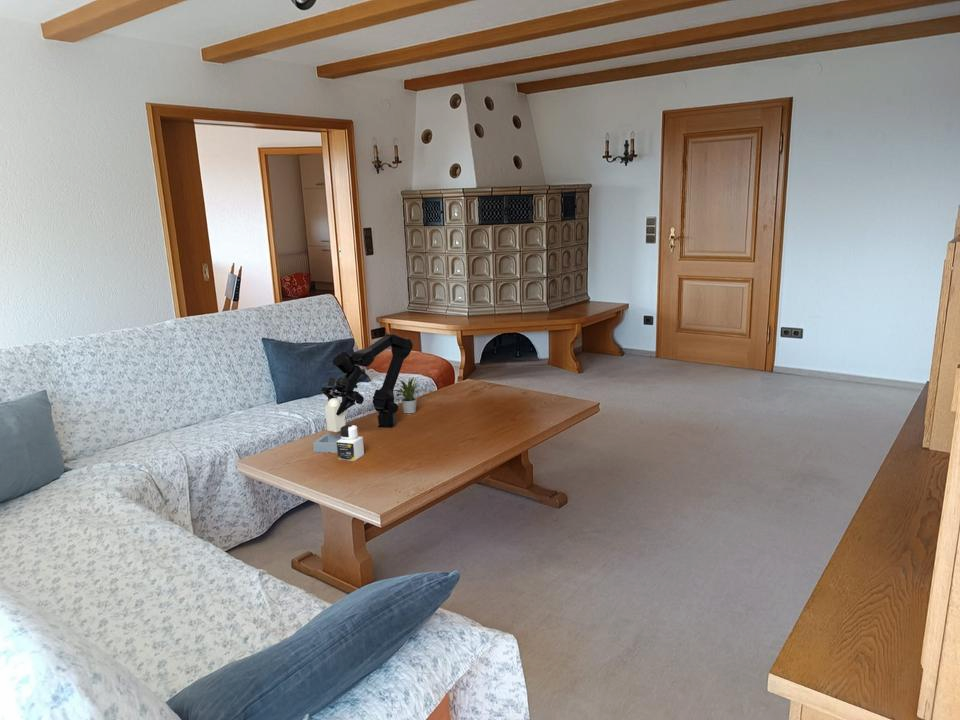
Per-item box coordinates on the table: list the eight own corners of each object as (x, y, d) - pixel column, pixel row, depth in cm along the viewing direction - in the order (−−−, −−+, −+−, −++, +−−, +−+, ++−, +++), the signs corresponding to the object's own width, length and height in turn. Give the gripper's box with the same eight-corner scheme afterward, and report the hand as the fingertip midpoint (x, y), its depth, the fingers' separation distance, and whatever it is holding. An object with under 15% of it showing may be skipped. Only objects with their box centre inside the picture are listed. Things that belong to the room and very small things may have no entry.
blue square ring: (352, 443, 259) (351, 434, 259) (340, 453, 249) (339, 444, 248) (326, 442, 262) (325, 433, 261) (313, 451, 252) (312, 443, 251)
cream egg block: (336, 426, 259) (333, 395, 257) (345, 428, 257) (342, 397, 254) (327, 430, 256) (324, 399, 253) (336, 432, 253) (333, 400, 250)
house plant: (398, 407, 307) (396, 373, 304) (427, 407, 305) (425, 372, 302) (390, 416, 293) (387, 380, 290) (420, 416, 291) (418, 380, 288)
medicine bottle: (337, 459, 242) (334, 428, 240) (347, 453, 249) (345, 422, 246) (354, 461, 240) (352, 429, 237) (364, 454, 246) (362, 423, 244)
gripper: (322, 366, 259) (302, 400, 253) (355, 371, 249) (336, 406, 242) (338, 381, 267) (320, 414, 261) (372, 386, 257) (354, 421, 250)
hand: (332, 414), depth 254 cm, fingers closed on cream egg block, 5 cm apart
